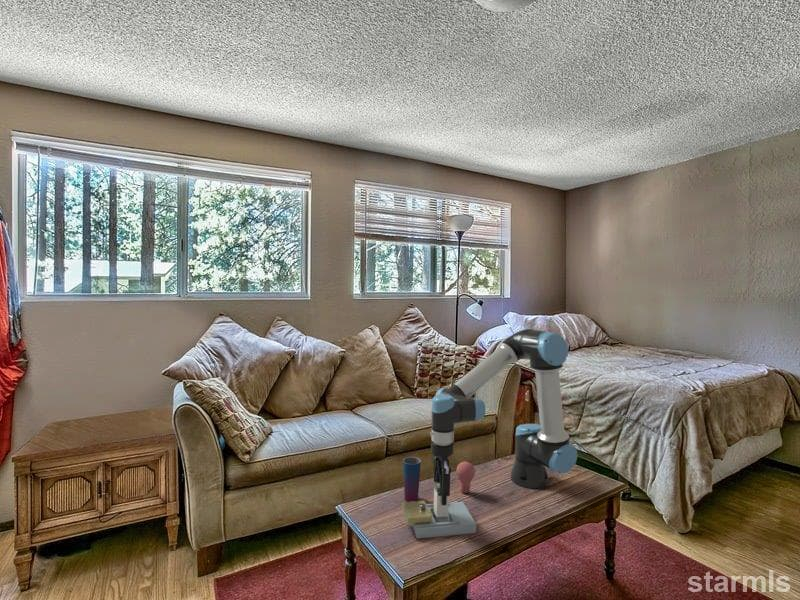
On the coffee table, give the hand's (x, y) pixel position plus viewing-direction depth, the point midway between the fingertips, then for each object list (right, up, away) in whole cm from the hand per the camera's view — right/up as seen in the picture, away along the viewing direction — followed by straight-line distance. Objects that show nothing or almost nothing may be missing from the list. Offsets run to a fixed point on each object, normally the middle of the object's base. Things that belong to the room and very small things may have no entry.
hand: (441, 509), depth 141 cm
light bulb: (+12, -4, +22) cm, 25 cm away
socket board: (0, -5, 0) cm, 5 cm away
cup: (-10, -4, +16) cm, 19 cm away
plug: (0, -2, 0) cm, 2 cm away
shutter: (-8, -2, -1) cm, 9 cm away
